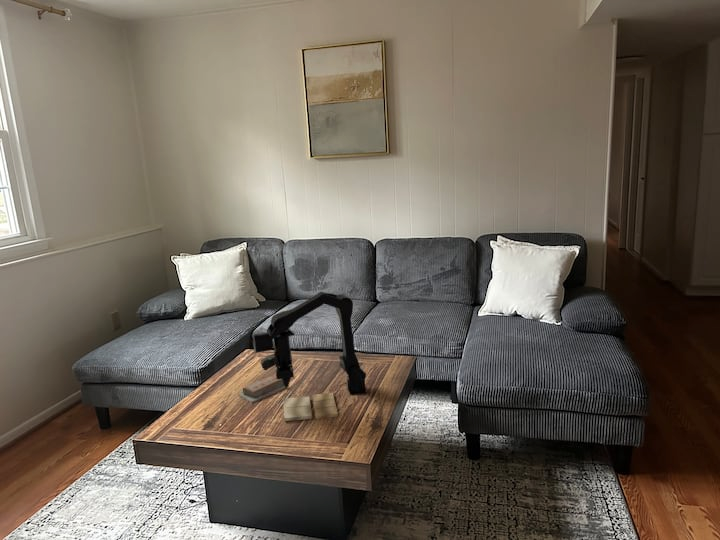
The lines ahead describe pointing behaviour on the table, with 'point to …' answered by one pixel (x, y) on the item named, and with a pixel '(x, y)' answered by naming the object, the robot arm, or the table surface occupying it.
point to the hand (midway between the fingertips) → (286, 386)
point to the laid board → (324, 406)
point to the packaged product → (262, 388)
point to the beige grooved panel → (297, 408)
